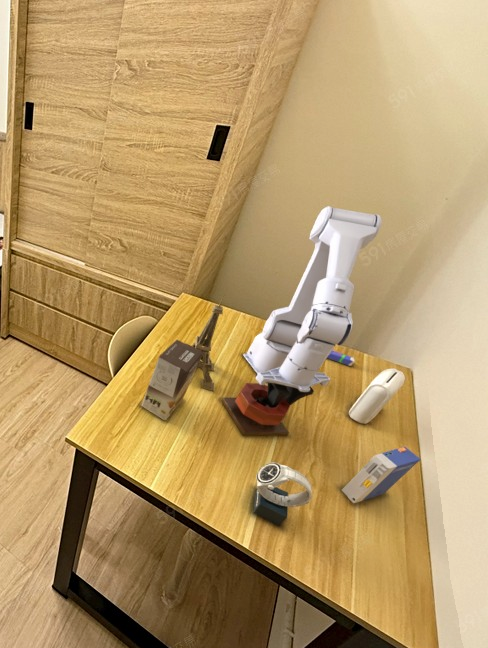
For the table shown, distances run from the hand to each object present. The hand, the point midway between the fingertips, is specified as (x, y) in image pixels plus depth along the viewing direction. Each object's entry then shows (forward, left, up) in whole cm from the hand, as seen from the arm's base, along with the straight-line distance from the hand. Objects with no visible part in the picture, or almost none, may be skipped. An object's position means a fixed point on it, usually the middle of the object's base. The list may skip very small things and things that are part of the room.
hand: (276, 404), depth 91 cm
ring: (0, -3, -1) cm, 4 cm away
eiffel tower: (-15, -12, -5) cm, 20 cm away
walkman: (+18, +8, -5) cm, 20 cm away
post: (0, -4, -5) cm, 6 cm away
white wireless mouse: (-2, +24, -5) cm, 25 cm away
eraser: (-20, +31, -5) cm, 37 cm away
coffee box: (-4, -24, -5) cm, 24 cm away
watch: (+21, -13, -5) cm, 25 cm away
